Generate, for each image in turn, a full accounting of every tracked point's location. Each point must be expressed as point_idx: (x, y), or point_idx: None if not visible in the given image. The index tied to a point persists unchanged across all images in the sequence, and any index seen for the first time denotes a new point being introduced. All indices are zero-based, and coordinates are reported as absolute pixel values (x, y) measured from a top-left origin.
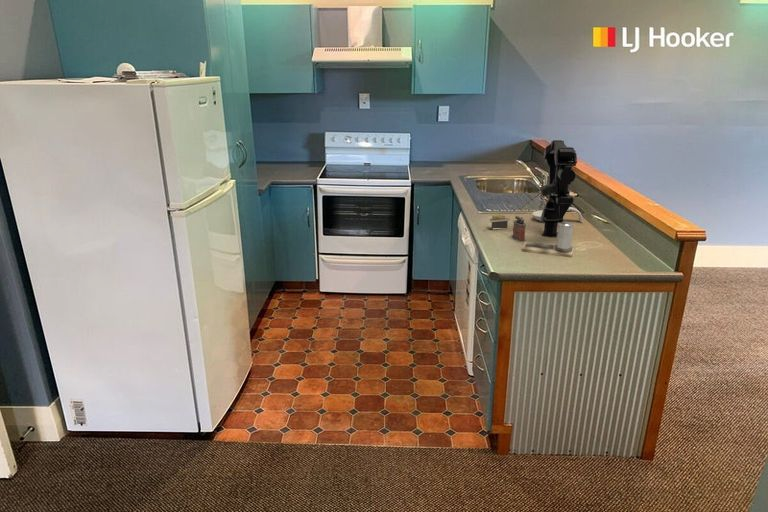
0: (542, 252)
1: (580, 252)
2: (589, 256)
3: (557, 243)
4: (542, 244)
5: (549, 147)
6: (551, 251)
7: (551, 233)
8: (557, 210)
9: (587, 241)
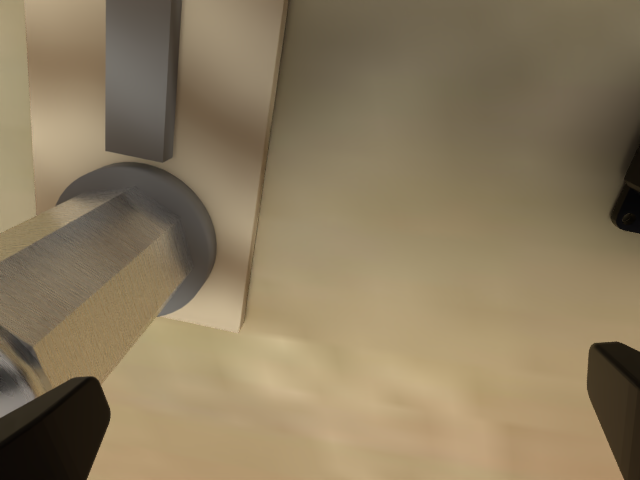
0: (34, 41)
1: (191, 354)
2: (122, 393)
3: (74, 202)
4: (158, 43)
5: None
6: (57, 130)
7: (637, 178)
8: (606, 425)
9: (484, 443)
